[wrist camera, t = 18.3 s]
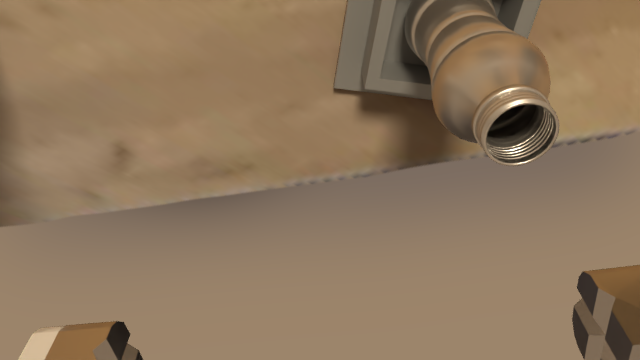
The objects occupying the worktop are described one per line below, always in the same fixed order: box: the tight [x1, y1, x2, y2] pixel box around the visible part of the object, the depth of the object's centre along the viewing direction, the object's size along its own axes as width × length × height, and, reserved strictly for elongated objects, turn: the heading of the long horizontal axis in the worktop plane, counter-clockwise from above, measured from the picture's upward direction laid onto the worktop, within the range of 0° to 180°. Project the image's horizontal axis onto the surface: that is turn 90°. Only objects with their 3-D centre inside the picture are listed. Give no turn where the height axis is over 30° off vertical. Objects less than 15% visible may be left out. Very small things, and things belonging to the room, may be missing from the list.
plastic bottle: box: [405, 0, 559, 166], centre depth 35 cm, size 6×7×20 cm
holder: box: [334, 0, 541, 100], centre depth 42 cm, size 15×15×5 cm
